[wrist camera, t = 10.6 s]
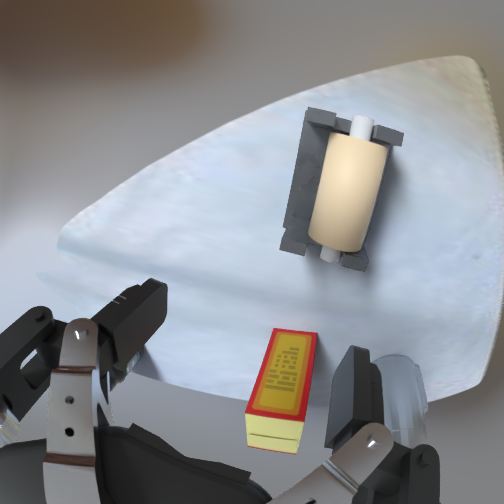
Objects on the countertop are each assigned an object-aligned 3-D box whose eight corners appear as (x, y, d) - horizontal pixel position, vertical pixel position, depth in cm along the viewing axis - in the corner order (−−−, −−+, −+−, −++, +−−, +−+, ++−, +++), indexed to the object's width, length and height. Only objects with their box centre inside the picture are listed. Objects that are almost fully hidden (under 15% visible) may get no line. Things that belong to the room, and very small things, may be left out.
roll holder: (391, 133, 26) (413, 132, 18) (361, 245, 32) (370, 277, 25) (306, 111, 28) (299, 100, 20) (283, 224, 34) (270, 251, 26)
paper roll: (321, 107, 22) (367, 112, 18) (360, 121, 25) (403, 130, 21) (292, 248, 28) (326, 275, 24) (331, 245, 31) (365, 268, 27)
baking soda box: (273, 328, 40) (244, 414, 26) (317, 332, 39) (304, 423, 25) (272, 370, 44) (247, 448, 30) (310, 374, 42) (295, 456, 28)
